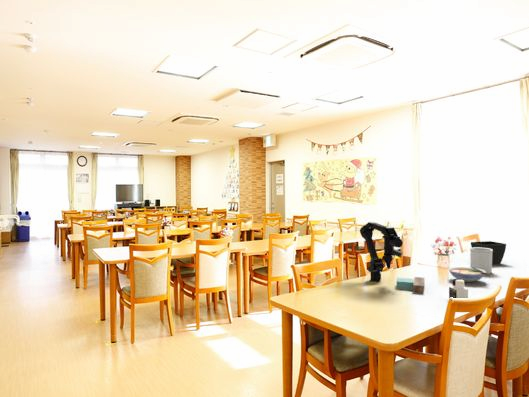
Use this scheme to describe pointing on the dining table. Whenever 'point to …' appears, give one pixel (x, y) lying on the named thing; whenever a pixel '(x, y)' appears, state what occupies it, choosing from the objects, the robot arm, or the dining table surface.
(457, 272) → the ramen bowl
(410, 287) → the teal block
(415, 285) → the brown bar
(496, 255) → the flower pot
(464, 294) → the medicine bottle
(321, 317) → the dining table surface
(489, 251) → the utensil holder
